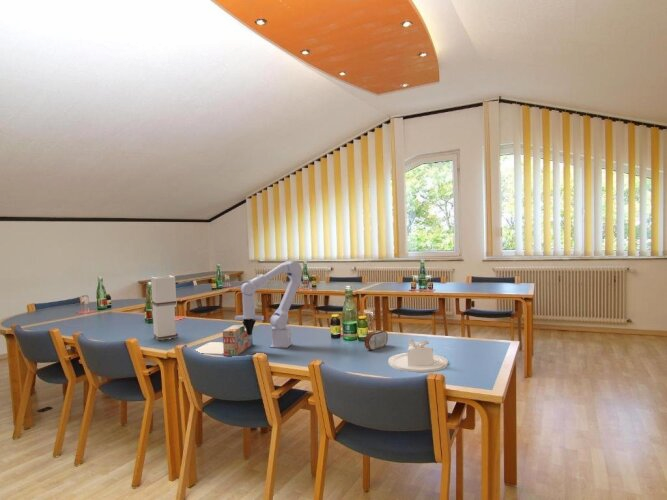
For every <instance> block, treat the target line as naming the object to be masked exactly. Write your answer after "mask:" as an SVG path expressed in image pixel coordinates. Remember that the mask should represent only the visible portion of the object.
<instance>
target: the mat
mask: <svg viewBox="0 0 667 500" xmlns="http://www.w3.org/2000/svg"><path fill="white" fill-rule="evenodd" d="M194 350H196V351H198V352H200V353H204V355H224V348H223V341H222V342H220V341H217V342H215V341H214V342H213V341H209V342H207V343H205V344H203V345H200V346H199V347H197V348H196V349H194Z"/></svg>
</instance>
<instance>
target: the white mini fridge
mask: <svg viewBox="0 0 667 500" xmlns="http://www.w3.org/2000/svg"><path fill="white" fill-rule="evenodd" d="M150 281H151V282H150V284H151V287H150V288H151V302H152V305H151V306H152V324H153V325H152V327H153V337H155V338H156V339H155V338H154V339H155V340H157V339H158V340H162V341H164V340H163V339H168V340H170V339H169V338H174V339H178V338H179V334H178V333H176V332H177V330H176V311H175V309H176V308H177V294H176V293H177V291H176V276H173V275H168V276H166V277H154V276H150ZM177 337H178V338H177ZM158 340H157V341H158Z"/></svg>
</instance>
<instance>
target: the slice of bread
mask: <svg viewBox="0 0 667 500" xmlns="http://www.w3.org/2000/svg"><path fill="white" fill-rule="evenodd" d="M388 339H389V337H388V332H387V331H385V330H383V329H377V330H375V331H371V332H368V333H367V335H366V336H365V339H364V348H365V349H367V350H369V351H375V350H378V349H382V348H384V347H385V346H386V345H387V343H388Z"/></svg>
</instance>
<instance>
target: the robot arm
mask: <svg viewBox="0 0 667 500" xmlns="http://www.w3.org/2000/svg"><path fill="white" fill-rule="evenodd" d="M302 269H303V268H302V266H301V264H300V263H299V262H298V261H296V260H294V261H293V260H286V261H284V262H282V263H280V264H279V265H277V266H275V267H273V269H271V270H270V271H268V272H266V273H265V274H262V273H260V274H256V276H255V277H254V278H251V279H249V280H248V282H244V283H243V284H241V286H240V292H241V293H242V315H235V316H234V320H235V321H242V325H244V326H245V328H246V330H247V334H248V335H251V334H252V335H253V331H254V327H255V323H256V321H264V318H265V316H264V315H256V307H255V293H256V291H258V290H259V289H262V288H263V287H264V286H266V285H268V283H269V282H268V281H269V280H271V279H273V278H275V277H276V276H278V275H280V274H286V275H287V276H288V278H289V281H288V284H287V287H286V290H285V292H284V294H283V296H282V299H281V301H280V303H279V307H277V309H276V310H275V311H274V312H273V314H272V315H271V316H270V317H269V323H270V325H271V342H272V343H271V345H270V346H269V348H288V347H290V346H291V345H292V344H293V343H292V330H291V329H290V328H287V326H288V319H289V310H290V309H291V306H292V303H293V301H294V298H295V297H296V293H297V291H298V289H299V286H300V284H301V282H302Z"/></svg>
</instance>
